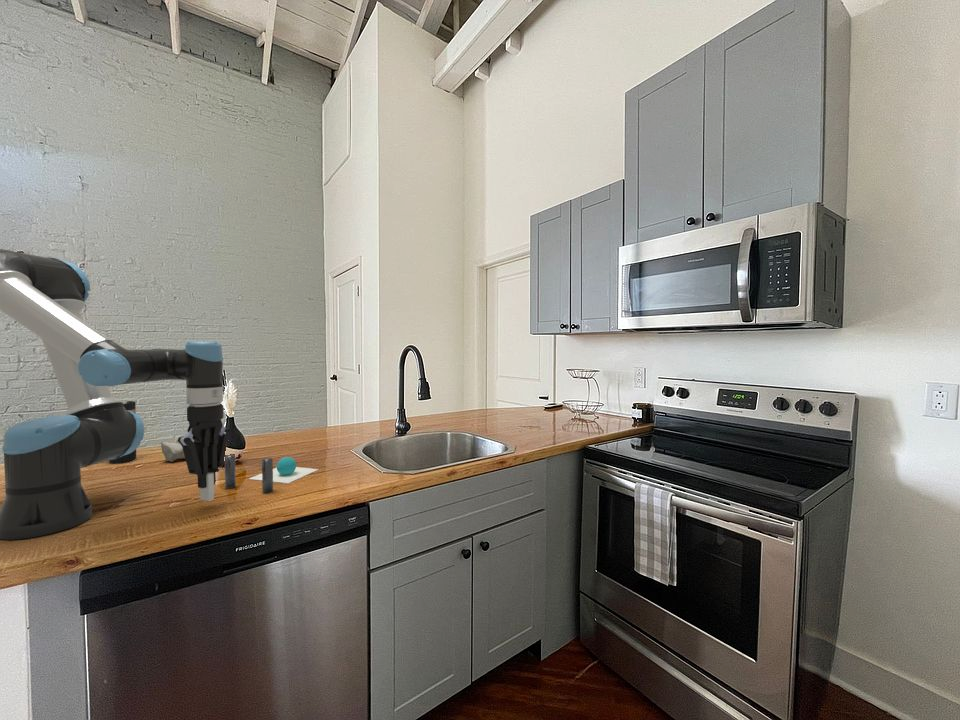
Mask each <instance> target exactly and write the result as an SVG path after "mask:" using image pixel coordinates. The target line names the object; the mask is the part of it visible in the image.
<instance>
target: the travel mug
mask: <svg viewBox="0 0 960 720" xmlns="http://www.w3.org/2000/svg"><path fill="white" fill-rule="evenodd" d="M123 405H124V407H125V410H127V411H132V412H134V413H135V414H137V411H136V409H137V408H136V401H133V400H128V401H126V402H123ZM135 459H136V460H137V449H136V450H134V451H133V452H131V453H130V454H127V455H124V456H122V457H120V458H117V459H114V460H108V463H109V464H112V465H115V464H126V462H127V463H130V461H131V462H134V461H136V460H135ZM133 460H134V461H133Z"/></svg>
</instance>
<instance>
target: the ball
mask: <svg viewBox="0 0 960 720" xmlns="http://www.w3.org/2000/svg"><path fill="white" fill-rule="evenodd" d="M296 467H297V462H296V459H294V458H292V457H290V456H285V457H284V456H283V457H282V458H280V459H279V460H278V462H277V464H276V468H277V471H278V472H279V473H280V474H281V475H290V474H292V473H293V472H294V471H295V469H296Z"/></svg>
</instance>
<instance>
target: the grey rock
mask: <svg viewBox="0 0 960 720" xmlns="http://www.w3.org/2000/svg"><path fill="white" fill-rule="evenodd" d="M184 436H185V435H183V436H181V437H184ZM193 443H194V442H193ZM160 448H161V453H162V454H163V456H164V458H165V460H166V462H168V461H170V462H169V463H173V462H175V461H176V460H179V459H181V460H186V459H185V455H184V452H183V448H182V446H181V444H180V443H179V442H178V439H177V440H176V441H174V442H167V441H161V442H160Z"/></svg>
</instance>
